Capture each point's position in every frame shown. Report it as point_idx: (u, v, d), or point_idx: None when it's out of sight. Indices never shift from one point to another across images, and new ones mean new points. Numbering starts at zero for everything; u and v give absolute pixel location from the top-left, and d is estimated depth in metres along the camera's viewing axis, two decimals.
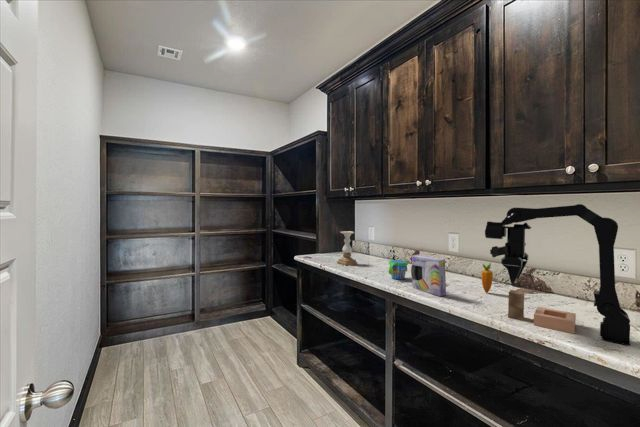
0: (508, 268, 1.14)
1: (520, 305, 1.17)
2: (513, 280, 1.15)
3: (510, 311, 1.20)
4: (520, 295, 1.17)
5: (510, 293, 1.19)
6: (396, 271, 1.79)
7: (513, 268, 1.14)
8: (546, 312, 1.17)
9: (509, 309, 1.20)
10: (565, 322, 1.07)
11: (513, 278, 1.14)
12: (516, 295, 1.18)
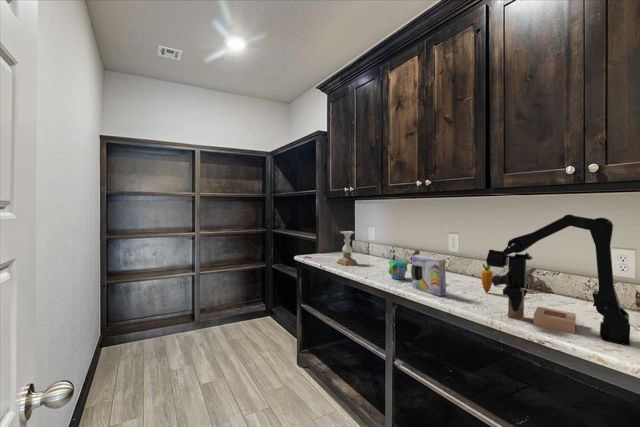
0: (510, 297, 1.18)
1: (520, 305, 1.17)
2: (515, 308, 1.18)
3: (510, 311, 1.20)
4: None
5: None
6: (396, 271, 1.79)
7: (515, 297, 1.17)
8: (546, 312, 1.17)
9: (509, 309, 1.20)
10: (565, 322, 1.07)
11: (515, 307, 1.18)
12: None
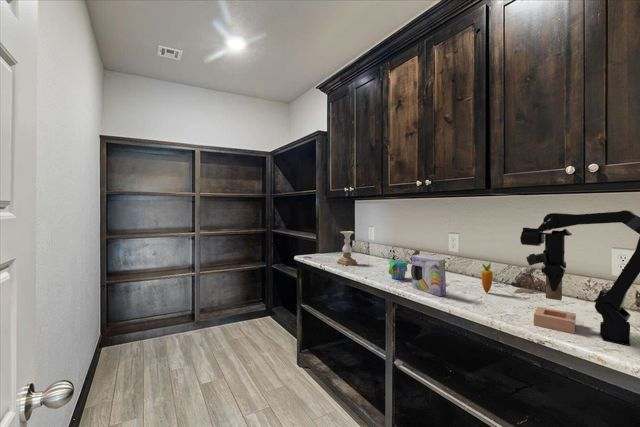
0: (549, 276, 1.11)
1: (559, 284, 1.10)
2: (554, 288, 1.11)
3: (548, 291, 1.12)
4: None
5: None
6: (396, 271, 1.79)
7: (554, 276, 1.10)
8: (546, 312, 1.17)
9: (547, 289, 1.13)
10: (565, 322, 1.07)
11: (554, 286, 1.10)
12: None
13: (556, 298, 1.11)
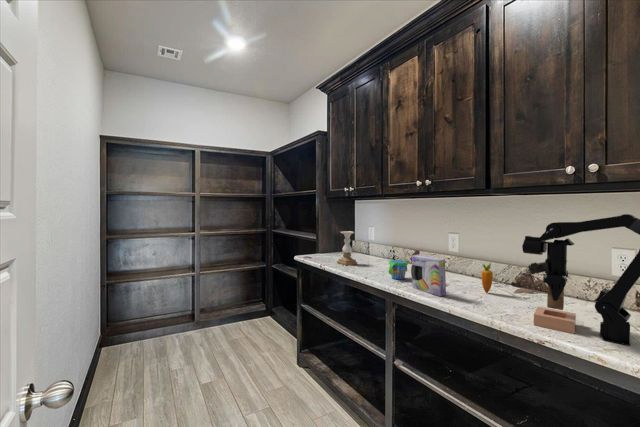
0: (551, 285, 1.10)
1: (561, 294, 1.10)
2: (555, 298, 1.11)
3: (549, 300, 1.12)
4: None
5: None
6: (396, 271, 1.79)
7: (556, 285, 1.10)
8: (546, 312, 1.17)
9: (548, 298, 1.12)
10: (565, 322, 1.07)
11: (556, 296, 1.10)
12: None
13: (558, 307, 1.11)
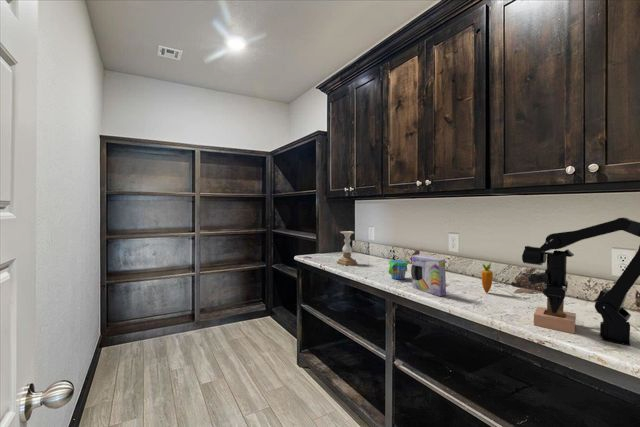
0: (550, 297, 1.09)
1: (560, 312, 1.10)
2: (554, 310, 1.09)
3: None
4: None
5: None
6: (396, 271, 1.79)
7: (555, 298, 1.08)
8: (546, 312, 1.17)
9: None
10: (565, 322, 1.07)
11: (555, 308, 1.09)
12: None
13: None
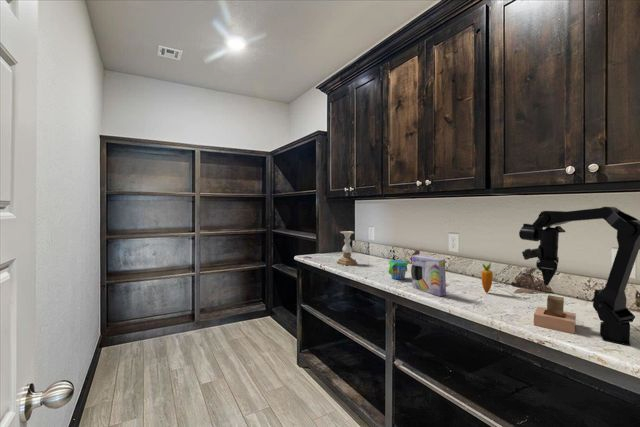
0: (542, 271, 1.16)
1: (560, 312, 1.10)
2: (546, 282, 1.16)
3: None
4: (560, 301, 1.10)
5: (549, 299, 1.12)
6: (396, 271, 1.79)
7: (547, 271, 1.16)
8: (546, 312, 1.17)
9: None
10: (565, 322, 1.07)
11: (547, 281, 1.16)
12: (556, 301, 1.11)
13: None
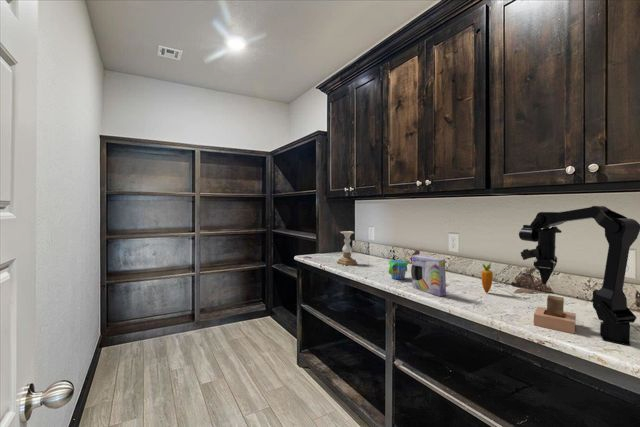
0: (540, 270, 1.20)
1: (560, 312, 1.10)
2: (544, 281, 1.20)
3: None
4: (560, 301, 1.10)
5: (549, 299, 1.12)
6: (396, 271, 1.79)
7: (545, 270, 1.19)
8: (546, 312, 1.17)
9: None
10: (565, 322, 1.07)
11: (545, 280, 1.20)
12: (556, 301, 1.11)
13: None
